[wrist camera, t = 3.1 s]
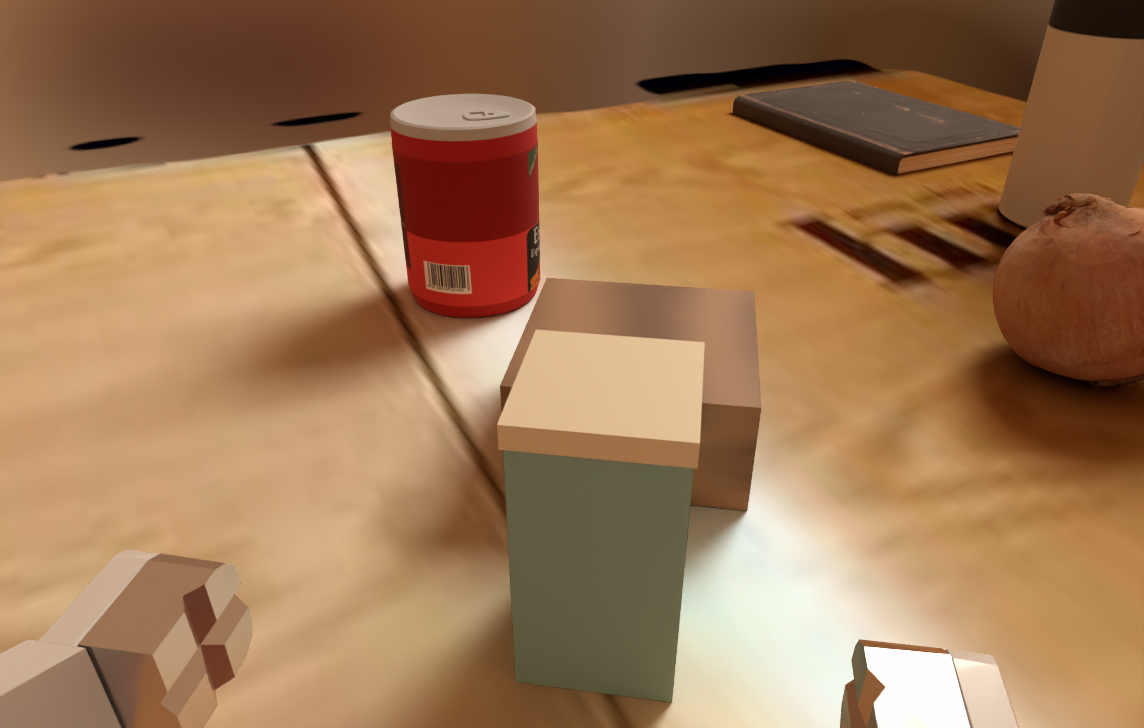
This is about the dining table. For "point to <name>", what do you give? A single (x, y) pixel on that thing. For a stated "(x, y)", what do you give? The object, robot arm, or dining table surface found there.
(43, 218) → the dining table surface
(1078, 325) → the onion
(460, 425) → the dining table surface
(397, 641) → the dining table surface
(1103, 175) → the travel mug
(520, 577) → the tea tin
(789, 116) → the hardcover book
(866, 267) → the dining table surface
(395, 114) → the canned food
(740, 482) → the riser block
